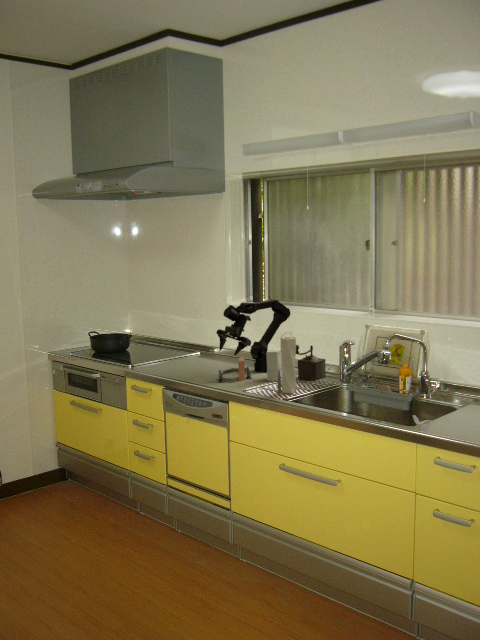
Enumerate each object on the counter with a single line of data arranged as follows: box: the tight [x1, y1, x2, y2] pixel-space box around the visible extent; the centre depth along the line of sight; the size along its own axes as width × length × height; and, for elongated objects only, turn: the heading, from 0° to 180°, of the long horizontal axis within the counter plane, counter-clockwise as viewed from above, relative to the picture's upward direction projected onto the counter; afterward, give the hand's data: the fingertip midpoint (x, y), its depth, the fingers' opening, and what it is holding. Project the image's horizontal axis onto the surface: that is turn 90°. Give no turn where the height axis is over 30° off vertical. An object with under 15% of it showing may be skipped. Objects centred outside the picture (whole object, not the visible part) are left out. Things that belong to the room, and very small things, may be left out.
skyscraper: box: [277, 331, 297, 395], centre depth 308 cm, size 8×8×28 cm
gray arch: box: [217, 366, 252, 383], centre depth 336 cm, size 17×9×6 cm, turn 90°
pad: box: [215, 377, 239, 384], centre depth 336 cm, size 5×11×1 cm, turn 45°
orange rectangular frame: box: [237, 357, 246, 381], centre depth 339 cm, size 3×8×10 cm, turn 0°
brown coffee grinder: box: [296, 343, 327, 382], centre depth 334 cm, size 16×11×18 cm
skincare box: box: [266, 349, 283, 382], centre depth 334 cm, size 8×6×15 cm
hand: (227, 352), depth 340 cm, fingers open, 9 cm apart
